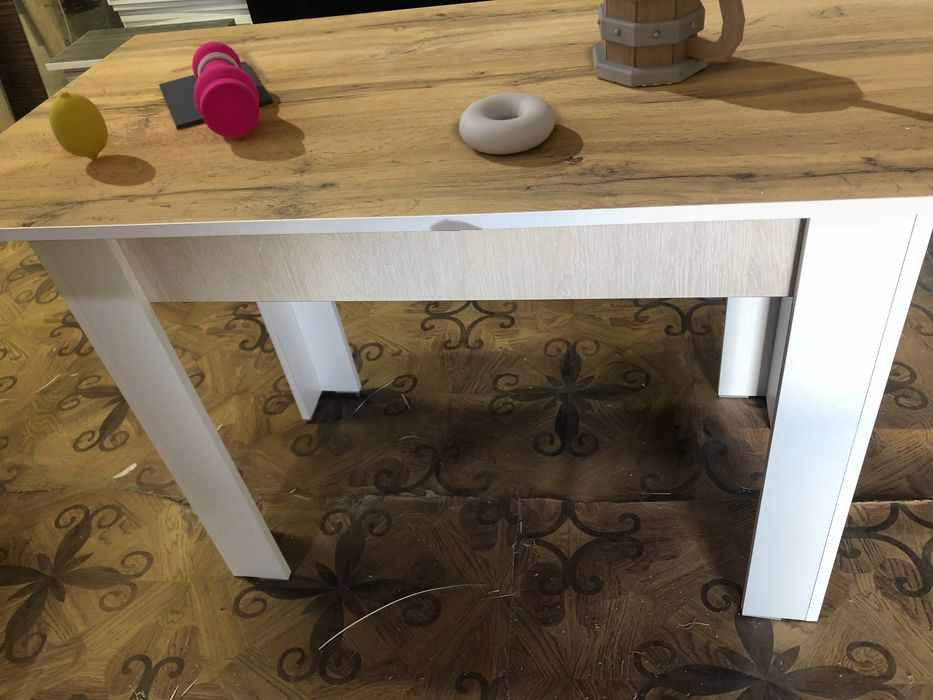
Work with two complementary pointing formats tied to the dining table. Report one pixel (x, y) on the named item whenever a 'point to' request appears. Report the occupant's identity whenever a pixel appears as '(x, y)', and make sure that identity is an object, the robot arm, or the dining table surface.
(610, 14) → the tankard
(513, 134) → the donut
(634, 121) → the dining table surface
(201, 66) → the pepper mill
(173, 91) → the mat
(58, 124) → the lemon
